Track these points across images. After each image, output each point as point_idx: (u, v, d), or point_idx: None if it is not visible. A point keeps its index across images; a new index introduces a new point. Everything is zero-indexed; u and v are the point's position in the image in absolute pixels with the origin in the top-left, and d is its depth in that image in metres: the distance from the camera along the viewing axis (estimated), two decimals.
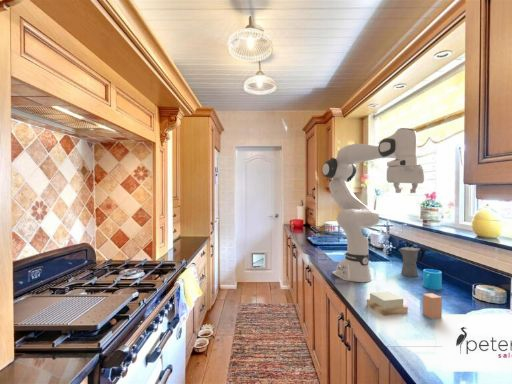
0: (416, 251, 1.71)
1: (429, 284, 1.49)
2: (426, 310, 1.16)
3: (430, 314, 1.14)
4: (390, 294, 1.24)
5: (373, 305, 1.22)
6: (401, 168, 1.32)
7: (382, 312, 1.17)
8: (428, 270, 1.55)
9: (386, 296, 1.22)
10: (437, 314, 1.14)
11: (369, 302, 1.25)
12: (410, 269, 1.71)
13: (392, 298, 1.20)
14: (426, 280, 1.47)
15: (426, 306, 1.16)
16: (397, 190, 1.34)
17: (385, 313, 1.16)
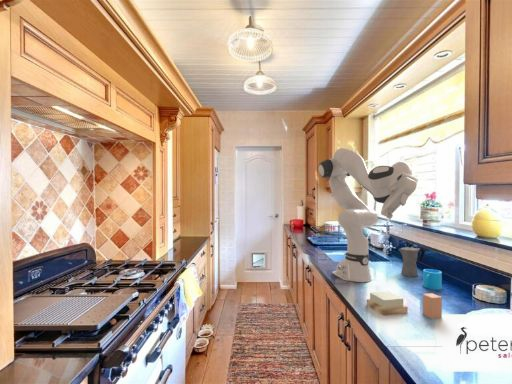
0: (416, 251, 1.71)
1: (429, 284, 1.49)
2: (426, 310, 1.16)
3: (430, 314, 1.14)
4: (390, 294, 1.25)
5: (373, 305, 1.22)
6: None
7: (382, 312, 1.17)
8: (428, 270, 1.55)
9: (386, 296, 1.22)
10: (437, 314, 1.14)
11: (369, 302, 1.25)
12: (410, 269, 1.71)
13: (392, 298, 1.20)
14: (426, 280, 1.47)
15: (426, 306, 1.16)
16: (404, 201, 1.16)
17: (385, 313, 1.16)
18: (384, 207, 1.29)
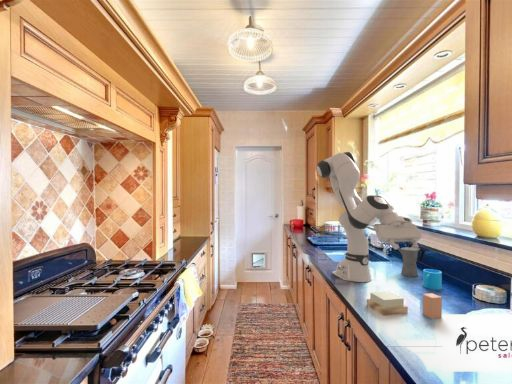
0: (416, 251, 1.71)
1: (429, 284, 1.49)
2: (426, 310, 1.16)
3: (430, 314, 1.14)
4: (390, 294, 1.24)
5: (373, 305, 1.22)
6: None
7: (382, 312, 1.17)
8: (428, 270, 1.55)
9: (386, 296, 1.22)
10: (437, 314, 1.14)
11: (369, 302, 1.25)
12: (410, 269, 1.71)
13: (392, 298, 1.20)
14: (426, 280, 1.47)
15: (426, 306, 1.16)
16: None
17: (385, 313, 1.16)
18: (387, 233, 1.30)
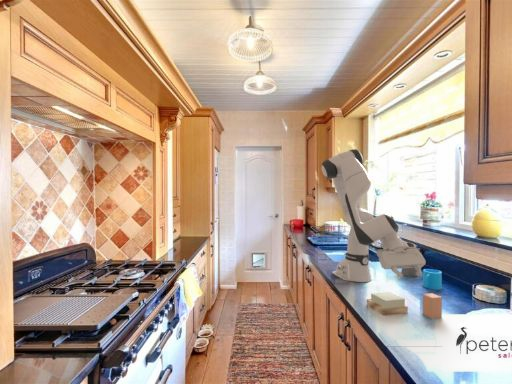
0: None
1: (429, 284, 1.49)
2: (426, 310, 1.16)
3: (430, 314, 1.14)
4: (391, 294, 1.24)
5: (373, 305, 1.22)
6: None
7: (382, 312, 1.17)
8: (428, 270, 1.55)
9: (387, 296, 1.21)
10: (437, 314, 1.14)
11: (369, 302, 1.25)
12: (410, 269, 1.71)
13: (394, 298, 1.19)
14: (426, 280, 1.47)
15: (426, 306, 1.16)
16: None
17: (385, 313, 1.16)
18: (390, 260, 1.27)
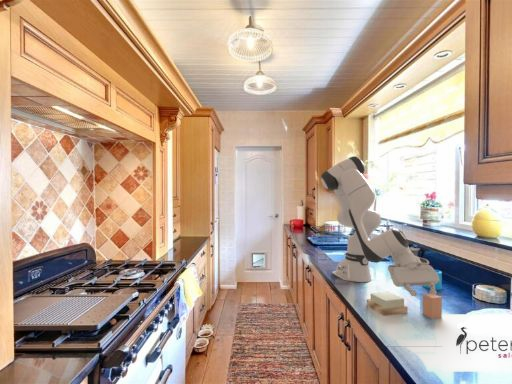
0: (416, 251, 1.71)
1: None
2: (426, 310, 1.16)
3: (430, 314, 1.14)
4: (390, 294, 1.24)
5: (373, 305, 1.22)
6: None
7: (382, 312, 1.17)
8: None
9: (387, 296, 1.21)
10: (437, 314, 1.14)
11: (369, 302, 1.25)
12: None
13: (393, 298, 1.19)
14: None
15: (426, 306, 1.16)
16: None
17: (385, 313, 1.16)
18: (403, 277, 1.20)
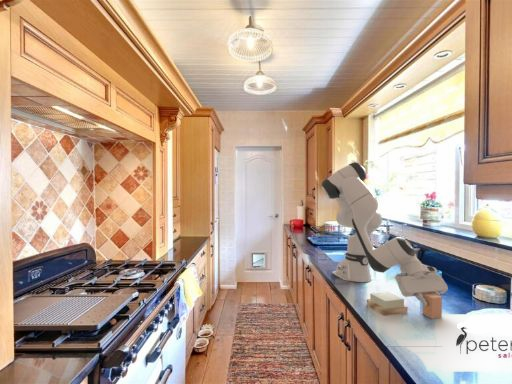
0: (416, 251, 1.71)
1: None
2: (426, 310, 1.16)
3: (430, 314, 1.14)
4: (390, 294, 1.24)
5: (373, 305, 1.23)
6: None
7: (382, 312, 1.17)
8: None
9: (386, 296, 1.21)
10: (437, 314, 1.14)
11: (369, 302, 1.25)
12: None
13: (393, 298, 1.19)
14: None
15: (426, 306, 1.16)
16: None
17: (385, 313, 1.16)
18: (411, 287, 1.17)
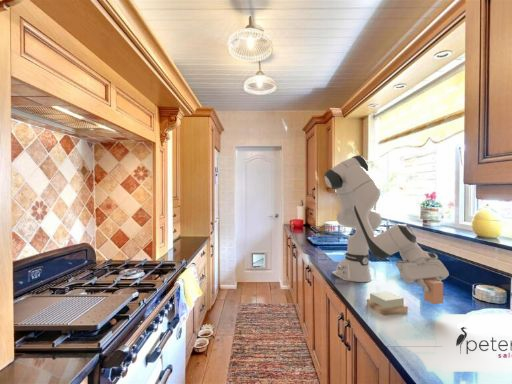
0: None
1: None
2: (428, 296, 1.16)
3: (432, 299, 1.14)
4: (390, 294, 1.24)
5: (373, 305, 1.23)
6: None
7: (382, 312, 1.17)
8: None
9: (386, 296, 1.22)
10: (438, 300, 1.14)
11: (369, 302, 1.25)
12: None
13: (393, 298, 1.20)
14: None
15: (428, 292, 1.16)
16: None
17: (385, 313, 1.16)
18: (413, 273, 1.17)
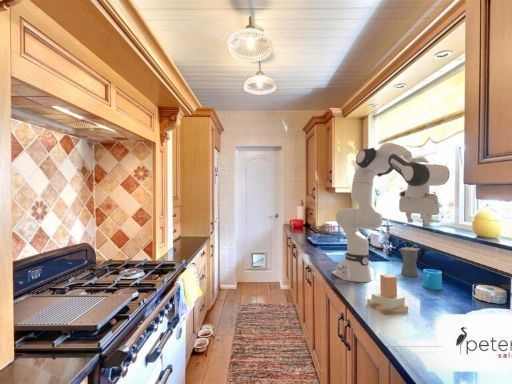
0: (416, 251, 1.71)
1: (429, 284, 1.49)
2: (383, 290, 1.23)
3: (385, 293, 1.21)
4: None
5: (373, 305, 1.23)
6: (404, 199, 1.40)
7: (383, 312, 1.17)
8: (428, 270, 1.55)
9: None
10: (392, 293, 1.21)
11: (370, 302, 1.25)
12: (410, 269, 1.71)
13: (395, 297, 1.20)
14: (426, 280, 1.47)
15: (382, 286, 1.23)
16: None
17: (386, 313, 1.16)
18: None
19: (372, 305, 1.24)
